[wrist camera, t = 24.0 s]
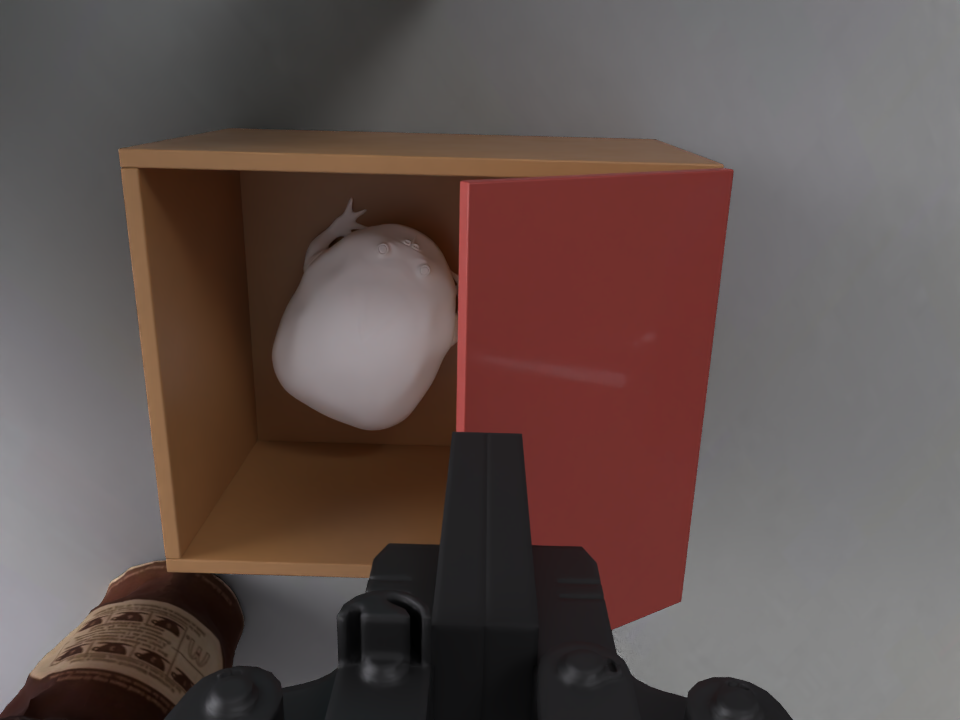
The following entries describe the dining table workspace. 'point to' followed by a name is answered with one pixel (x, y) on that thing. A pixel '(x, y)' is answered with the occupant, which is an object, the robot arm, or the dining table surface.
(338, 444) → the carton
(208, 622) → the coffee cup
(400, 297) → the white frog figurine
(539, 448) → the flap
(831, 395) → the dining table surface
